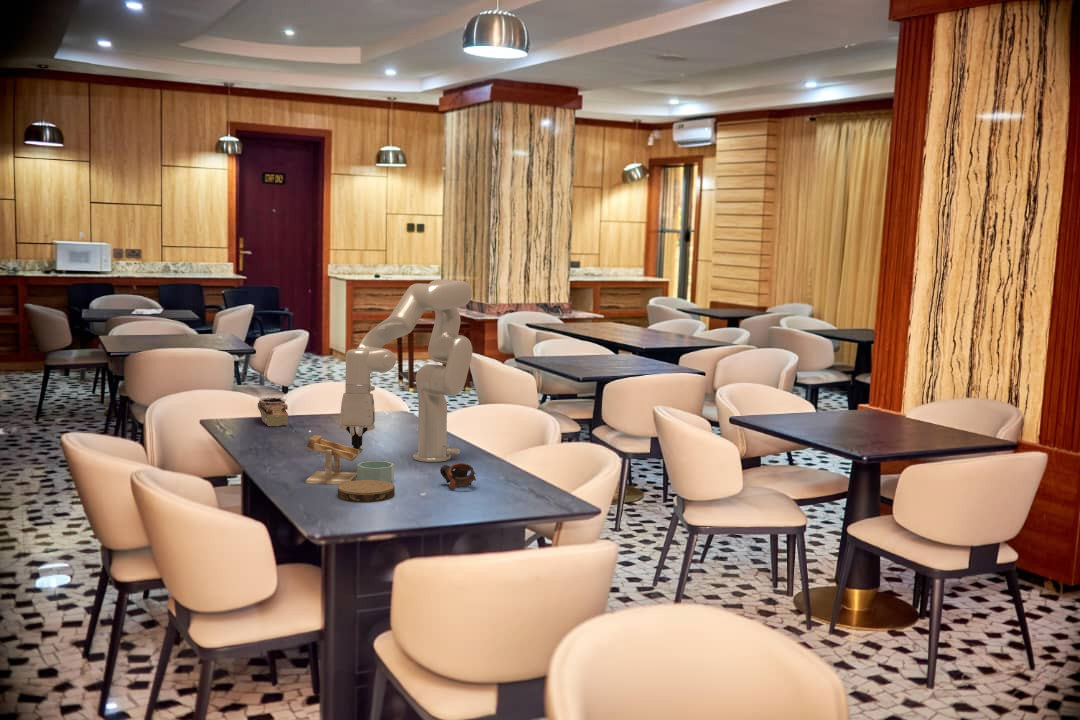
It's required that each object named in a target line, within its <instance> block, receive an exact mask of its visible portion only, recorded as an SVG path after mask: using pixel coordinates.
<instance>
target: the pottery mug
mask: <svg viewBox="0 0 1080 720" xmlns="http://www.w3.org/2000/svg"><path fill="white" fill-rule="evenodd" d="M439 472H440V475H441V476H442V477H443V479H445V482H446V483H447V484H449V485H448V488H449V489H450V490H451V491H454V490H455V489H456V488H461V487H465V486H469V485H472V482H473V481H476V480H477V479H476V476H475V474H476V472H475V470H474V468H473V466H472V465H470V464H468V463H465V462H455V463H453V464H452V465H451V466H450V465H447V464H444V465H442V466H441V467H440V470H439ZM469 472H470V473H469ZM468 473H469V474H468Z"/></svg>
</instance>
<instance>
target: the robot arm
mask: <svg viewBox="0 0 1080 720" xmlns="http://www.w3.org/2000/svg"><path fill="white" fill-rule="evenodd" d="M472 297H473V290H472V288H471V285H470V284H468V282H466V281H464V280H458V279H456V280H454V279H434V280H431V281H430V282H429V283H413V284H412V285H410V286H409V287H408V288H407V289H406V291H405V292H404V294H403V295H402V297H401V298H400V300H399V301H398V303H397V305H396V306H395V307H394V309H393V310H392V312H391V313H390V315H389V316H388V317H387V318H385V319H384V320H383V321H381V322H380V323H378V324H377V325H375V326H374V327H373V328H372V329H371V330H369V331H368V332H367V333H366V334H365V336H363V339H362V340H361V341H360V342H359V345H358V346H357V347H356V348H352V349H348V350H347V351H346V353H345V387H344V388H345V390H344V393H342V394H343V395H342V397H341V405H340V411H339V413H340V415H339V421H340V424H339V429H340V430H341V429H342V430H344V431H347V433H349V435H350V436H351V446H353V447H352V448H354V449H356V448H357V449H359V448H361V447H362V446H363V435H364V434H366V433H367V432H368V431H373V430H375V428H376V426H375V421H376V412H375V399H374V395H373V393H371V392H373V391H375V389H376V387H375V385H373V386H372V384H371V372H374V373H388V372H389V371H391V370H393V368H394V367H395V365H396V359H397V358H396V355H395V354H394V353H393V351H391V350H390V349H387V348H384V346H385V345H387V344H388V343H389V342H392V341H393V340H395V339H399V338H402V337H405V336H406V335H408V334H410V333H412V331H413V330H414V328H415V327H416V325H417V323H418V322H419V321H420V319H421V317H422V316H423V315H424V313H425V312H426V311H434V315H435V319H434V324H433V328H432V332H431V336H430V339H429V343H428V348H427V352H428V353H427V354H428V357H430V359H431V360H433V361H437V362H441V363H446V366H445V365H441V364H425V365H423V366H421V367H420V368H419V369H418V370H417V372H416V375H415V385H416V386H415V387H416V390H417V396H418V397H417V399H418V400H417V401H418V402H417V403H418V413H417V414H418V415H417V416H418V421H417V422H418V423H417V425H418V426H417V432H418V433H417V434H418V435H417V452H415V453H413V456H412V458H413V460H415V461H419V462H427V463H438V462H439V463H440V462H447V461H449V460H451V459H452V455H458V456H459V455H460V448H457V447H450V446H449V443H447V440H448V439H447V434H448V431H447V429H448V426H447V425H448V404H447V399H446V397H445V396H448V397H455V396H457V395H459V394H460V393H461V392H462V391H463V389H464V387H465V385H466V382H467V381H466V380H467V377H468V373H469V369H470V366H471V363H472V358H473V345H472V343H471V341H470V339H469V338H468V337H466V336H465V335H462V334H461V335H460V334H459V331H460V326H461V315H460V314H461V313H460V312H459V309H458V308H463V307H464V306H467V305H468V304H469V303H470V301H471V300H472ZM357 427H358V431H357V429H356V428H357Z"/></svg>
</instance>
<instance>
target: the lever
mask: <svg viewBox="0 0 1080 720" xmlns="http://www.w3.org/2000/svg"><path fill="white" fill-rule="evenodd" d="M337 443H338V442H333V441H330V440H326V439H323V437H322V435H318V434H314V435H313V436H311V437H310V438H308V442H307V445H306V449H307V450H309V451H310V450H311V451H316V452H320V453H322V454H325V450H332V456H333V457H334V456H336V457H340V459H343V460H347V461H350V462H352V461H354V460H355V459H356V458H357V457H358V456H359V455H360V454H362V452H363V448H361V447H360V448H359V449H357V448H356V449H354V448H353V447H350V446H347V445H345V444H344V445H343V444H337Z"/></svg>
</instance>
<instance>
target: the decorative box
mask: <svg viewBox="0 0 1080 720" xmlns="http://www.w3.org/2000/svg"><path fill="white" fill-rule="evenodd" d="M286 401H287V399H285V398H282V397H263V398H259V400H258V402H257V409H258V411H259V412H260V416H261V421H262V423H264V424H265V425H266V426H267V427H269V426H270V427H276V426H279V427H280V426H286V425H288V421H289V413H288V412H287V410H289V409H288V407H289V406H288V403H286Z"/></svg>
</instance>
